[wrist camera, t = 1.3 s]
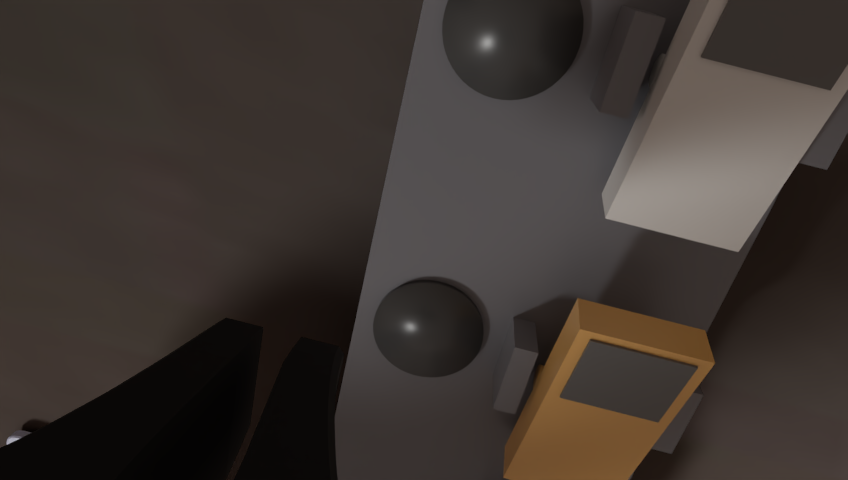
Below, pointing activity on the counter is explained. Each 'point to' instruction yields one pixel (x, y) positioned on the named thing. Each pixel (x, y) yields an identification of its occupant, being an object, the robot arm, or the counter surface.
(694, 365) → the rocker middle
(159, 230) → the counter surface
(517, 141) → the power strip
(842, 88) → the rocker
